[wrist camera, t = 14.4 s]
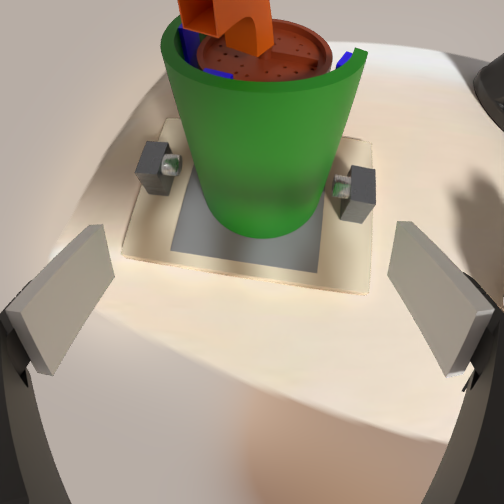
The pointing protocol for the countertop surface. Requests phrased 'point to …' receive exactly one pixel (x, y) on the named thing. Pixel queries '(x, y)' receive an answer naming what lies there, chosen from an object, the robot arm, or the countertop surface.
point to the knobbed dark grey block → (158, 168)
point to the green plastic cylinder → (258, 110)
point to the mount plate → (250, 249)
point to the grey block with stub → (355, 193)
